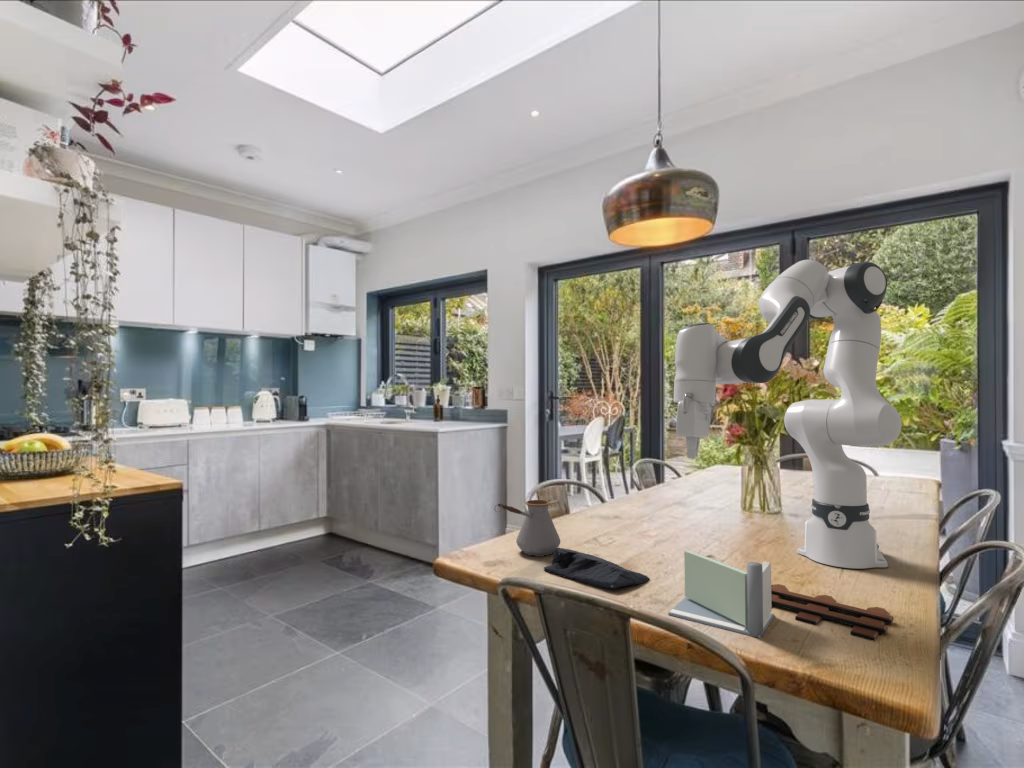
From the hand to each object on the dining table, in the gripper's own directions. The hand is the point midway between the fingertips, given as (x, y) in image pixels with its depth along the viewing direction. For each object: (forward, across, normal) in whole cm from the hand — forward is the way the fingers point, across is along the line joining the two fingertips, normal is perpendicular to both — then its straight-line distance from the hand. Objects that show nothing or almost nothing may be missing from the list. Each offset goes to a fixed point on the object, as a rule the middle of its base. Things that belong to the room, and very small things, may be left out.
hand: (692, 457), depth 119 cm
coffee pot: (+28, +1, +40) cm, 49 cm away
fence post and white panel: (+28, -15, -15) cm, 35 cm away
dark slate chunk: (+28, -3, +20) cm, 35 cm away
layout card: (+28, -14, -8) cm, 32 cm away
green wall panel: (+27, -14, -7) cm, 32 cm away
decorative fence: (+28, -3, -24) cm, 37 cm away
